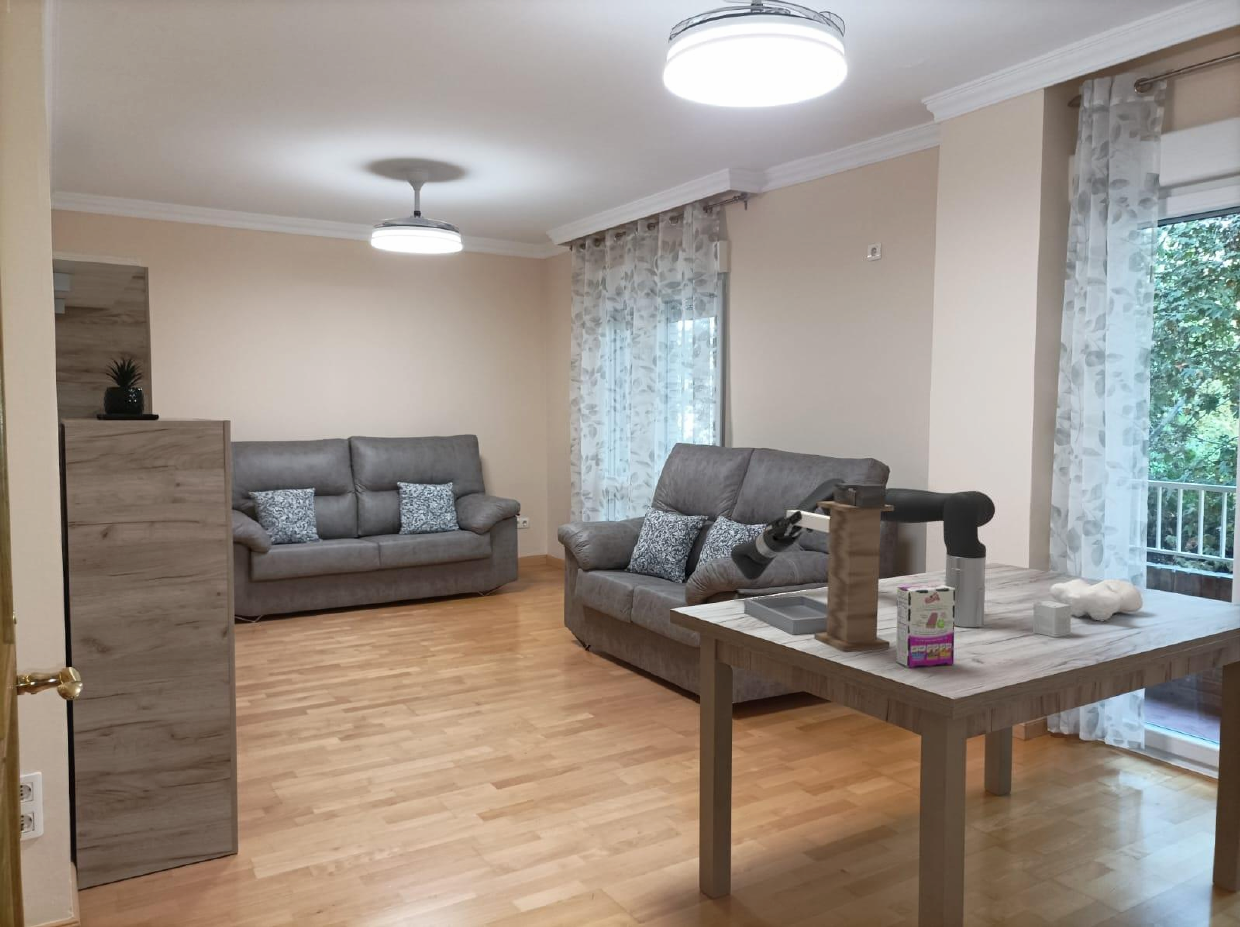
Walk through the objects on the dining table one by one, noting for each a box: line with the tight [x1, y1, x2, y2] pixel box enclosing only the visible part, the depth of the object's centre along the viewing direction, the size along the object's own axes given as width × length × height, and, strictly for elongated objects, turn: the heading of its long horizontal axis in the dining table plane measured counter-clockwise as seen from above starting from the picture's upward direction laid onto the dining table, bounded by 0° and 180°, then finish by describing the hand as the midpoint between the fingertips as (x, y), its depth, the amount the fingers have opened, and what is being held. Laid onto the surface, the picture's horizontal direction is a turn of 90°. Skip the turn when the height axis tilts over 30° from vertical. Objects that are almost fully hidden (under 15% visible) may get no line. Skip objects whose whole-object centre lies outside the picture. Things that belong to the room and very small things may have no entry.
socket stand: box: [813, 482, 894, 653], centre depth 209 cm, size 13×12×37 cm
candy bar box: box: [895, 584, 955, 669], centre depth 194 cm, size 11×5×16 cm, turn 105°
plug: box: [786, 509, 830, 534], centre depth 225 cm, size 19×3×3 cm, turn 21°
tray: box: [743, 594, 827, 636], centre depth 231 cm, size 24×18×4 cm
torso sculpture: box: [1049, 578, 1144, 621], centre depth 239 cm, size 18×10×25 cm
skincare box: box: [1032, 600, 1072, 638], centre depth 221 cm, size 6×6×7 cm
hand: (806, 514), depth 227 cm, fingers closed on plug, 3 cm apart
